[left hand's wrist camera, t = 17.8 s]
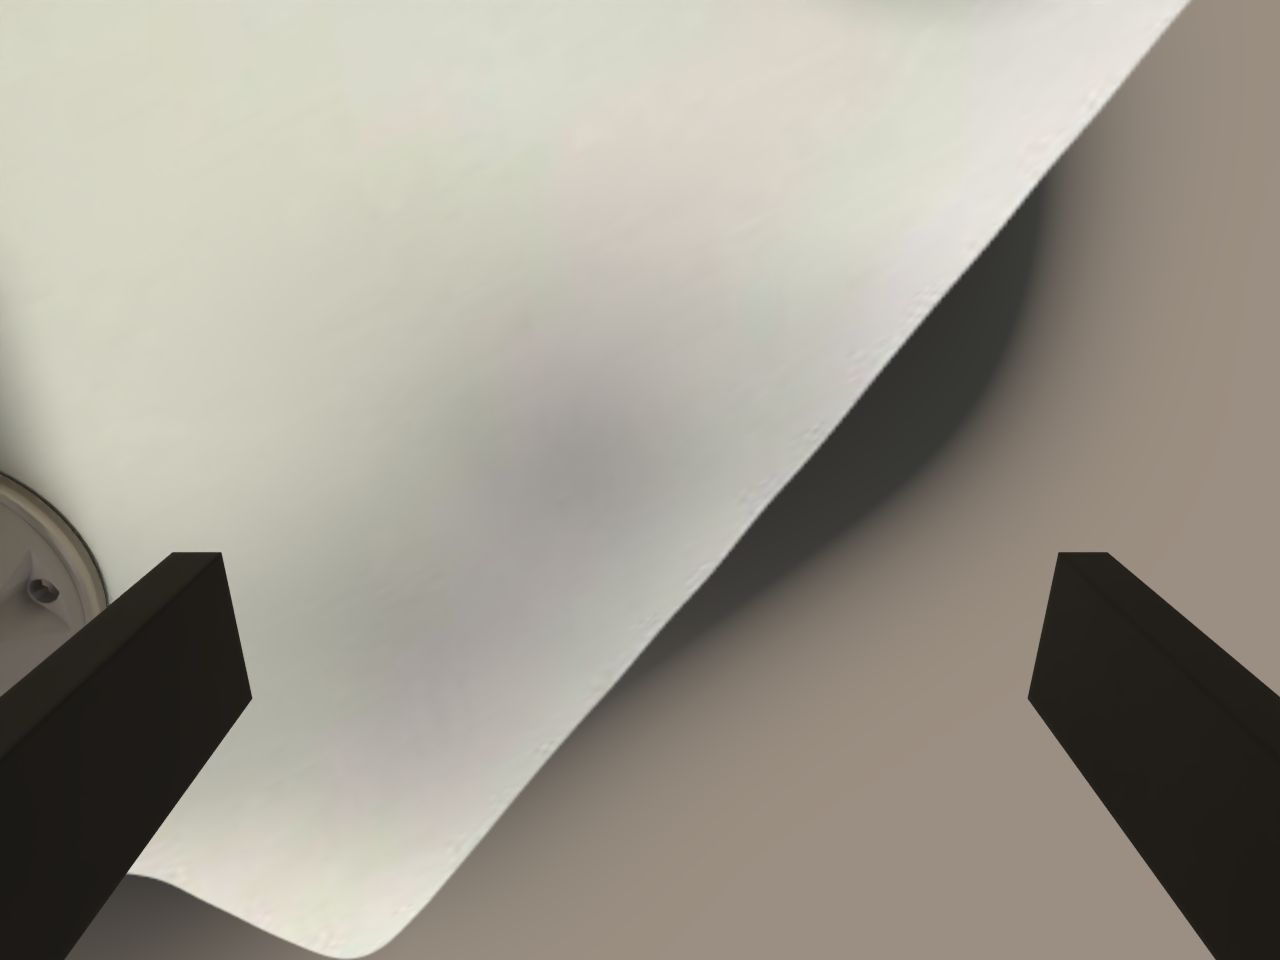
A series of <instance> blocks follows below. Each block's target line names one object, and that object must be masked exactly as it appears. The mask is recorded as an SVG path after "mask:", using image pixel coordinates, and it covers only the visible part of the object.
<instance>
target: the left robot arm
mask: <svg viewBox="0 0 1280 960" xmlns="http://www.w3.org/2000/svg"><path fill="white" fill-rule="evenodd" d="M251 700H252V695H251V690H250V685H249V680H248V676H247V671H246V666H245V661H244V657H243V652H242V647H241V643H240V638H239V633H238V628H237V624H236V619H235V614H234V609H233V605H232V600H231V595H230V591H229V586H228V581H227V576H226V572H225V567H224V562H223V557H222V553H221V552H172V553H171V554H170V555H169V556H168V557H166V558H165V559H164V560H163V561H162V562H160V563H159V564H158V565H157V566H156V567H155V568H153V569H152V570H151V571H150V572H149V573H147V574H146V575H145V576H144V577H143V578H141V579H140V580H139V581H138V582H137V583H135V584H134V585H133V586H132V587H131V588H129V589H128V590H127V591H126V592H125V593H124V594H122V595H121V596H120V597H119V598H118V599H116V600H115V601H114V602H113V603H112V604H110V605H109V606H108V607H106V599H105V594H104V589H103V586H102V583H101V580H100V577H99V575H98V572H97V570H96V567H95V565H94V563H93V561H92V560H91V558H90V556H89V554H88V552H87V551H86V549H85V548H84V546H83V545H82V543H81V541H80V540H79V539H78V537H77V536H76V535H75V534H74V532H73V531H72V530H71V528H70V527H69V526H68V525H67V524H66V523H65V522H64V521H63V520H62V519H61V518H60V516H58V515H57V514H56V513H55V512H54V511H53V510H52V509H51V508H50V507H49V506H48V505H46V504H45V503H44V502H43V501H41V500H40V499H39V498H38V497H36V496H35V495H34V494H32V493H31V492H29V491H28V490H27V489H25V488H24V487H22V486H21V485H19V484H17V483H15V482H14V481H12V480H10V479H9V478H7V477H5V476H3V475H1V474H0V960H64V959H65V958H66V957H67V955H68V954H69V952H70V951H71V950H72V948H73V947H74V945H75V944H76V943H77V941H78V940H79V938H80V937H81V936H82V934H83V933H84V932H85V930H86V929H87V927H88V926H89V925H90V923H91V922H92V920H93V919H94V918H95V916H96V915H97V913H98V912H99V911H100V909H101V908H102V907H103V905H104V904H105V902H106V901H107V900H108V898H109V897H110V895H111V894H112V893H113V891H114V890H115V888H116V887H117V886H118V884H119V883H120V882H121V880H122V879H123V877H124V876H125V875H126V873H127V872H128V870H129V869H130V868H131V866H132V865H133V864H134V862H135V861H136V859H137V858H138V857H139V855H140V854H141V852H142V851H143V850H144V848H145V847H146V845H147V844H148V843H149V841H150V840H151V839H152V837H153V836H154V834H155V833H156V832H157V830H158V829H159V827H160V826H161V825H162V823H163V822H164V820H165V819H166V818H167V816H168V815H169V814H170V812H171V811H172V809H173V808H174V807H175V805H176V804H177V802H178V801H179V800H180V798H181V797H182V795H183V794H184V793H185V791H186V790H187V789H188V787H189V786H190V784H191V783H192V782H193V780H194V779H195V777H196V776H197V775H198V773H199V772H200V770H201V769H202V768H203V766H204V765H205V764H206V762H207V761H208V759H209V758H210V757H211V755H212V754H213V752H214V751H215V750H216V748H217V747H218V745H219V744H220V743H221V741H222V740H223V739H224V737H225V736H226V734H227V733H228V732H229V730H230V729H231V727H232V726H233V725H234V723H235V722H236V720H237V719H238V718H239V716H240V715H241V714H242V712H243V711H244V709H245V708H246V707H247V705H248V704H249V702H250V701H251ZM1028 700H1029V701H1030V702H1031V704H1032V705H1033V707H1034V708H1035V709H1036V711H1037V712H1038V714H1039V715H1040V716H1041V718H1042V719H1043V720H1044V722H1045V723H1046V725H1047V726H1048V727H1049V729H1050V730H1051V732H1052V733H1053V734H1054V736H1055V737H1056V739H1057V740H1058V741H1059V743H1060V744H1061V745H1062V747H1063V748H1064V750H1065V751H1066V752H1067V754H1068V755H1069V757H1070V758H1071V759H1072V761H1073V762H1074V764H1075V765H1076V766H1077V768H1078V769H1079V770H1080V772H1081V773H1082V775H1083V776H1084V777H1085V779H1086V780H1087V782H1088V783H1089V784H1090V786H1091V787H1092V789H1093V790H1094V791H1095V793H1096V794H1097V795H1098V797H1099V798H1100V800H1101V801H1102V802H1103V804H1104V805H1105V807H1106V808H1107V809H1108V811H1109V812H1110V814H1111V815H1112V816H1113V818H1114V819H1115V820H1116V822H1117V823H1118V825H1119V826H1120V827H1121V829H1122V830H1123V832H1124V833H1125V834H1126V836H1127V837H1128V839H1129V840H1130V841H1131V843H1132V844H1133V845H1134V847H1135V848H1136V850H1137V851H1138V852H1139V854H1140V855H1141V857H1142V858H1143V859H1144V861H1145V862H1146V864H1147V865H1148V866H1149V868H1150V869H1151V870H1152V872H1153V873H1154V875H1155V876H1156V877H1157V879H1158V880H1159V882H1160V883H1161V884H1162V886H1163V887H1164V888H1165V890H1166V891H1167V893H1168V894H1169V895H1170V897H1171V898H1172V900H1173V901H1174V902H1175V904H1176V905H1177V907H1178V908H1179V909H1180V911H1181V912H1182V913H1183V915H1184V916H1185V918H1186V919H1187V920H1188V922H1189V923H1190V925H1191V926H1192V927H1193V929H1194V930H1195V932H1196V933H1197V934H1198V936H1199V937H1200V938H1201V940H1202V941H1203V943H1204V944H1205V945H1206V947H1207V948H1208V950H1209V951H1210V952H1211V954H1212V955H1213V956H1214V958H1215V959H1216V960H1280V697H1279V696H1278V695H1277V694H1276V693H1274V692H1273V691H1272V690H1271V689H1270V688H1269V687H1267V686H1266V685H1265V684H1264V683H1263V682H1261V681H1260V680H1259V679H1258V678H1257V677H1255V676H1254V675H1253V674H1252V673H1251V672H1249V671H1248V670H1247V669H1246V668H1245V667H1243V666H1242V665H1241V664H1240V663H1239V662H1238V661H1236V660H1235V659H1234V658H1233V657H1232V656H1230V655H1229V654H1228V653H1227V652H1226V651H1224V650H1223V649H1222V648H1221V647H1220V646H1218V645H1217V644H1216V643H1215V642H1214V641H1212V640H1211V639H1210V638H1209V637H1208V636H1207V635H1205V634H1204V633H1203V632H1202V631H1201V630H1199V629H1198V628H1197V627H1196V626H1195V625H1193V624H1192V623H1191V622H1190V621H1189V620H1187V619H1186V618H1185V617H1184V616H1183V615H1181V614H1180V613H1179V612H1178V611H1177V610H1176V609H1174V608H1173V607H1172V606H1171V605H1170V604H1168V603H1167V602H1166V601H1165V600H1164V599H1162V598H1161V597H1160V596H1159V595H1158V594H1156V593H1155V592H1154V591H1153V590H1152V589H1151V588H1149V587H1148V586H1147V585H1146V584H1145V583H1143V582H1142V581H1141V580H1140V579H1139V578H1137V577H1136V576H1135V575H1134V574H1133V573H1131V572H1130V571H1129V570H1128V569H1127V568H1125V567H1124V566H1123V565H1122V564H1121V563H1120V562H1118V561H1117V560H1116V559H1115V558H1114V557H1112V556H1111V555H1110V554H1109V553H1107V552H1059V553H1058V558H1057V562H1056V567H1055V572H1054V576H1053V581H1052V586H1051V591H1050V595H1049V600H1048V605H1047V609H1046V614H1045V619H1044V624H1043V628H1042V633H1041V638H1040V643H1039V647H1038V652H1037V657H1036V661H1035V666H1034V671H1033V676H1032V680H1031V685H1030V690H1029V695H1028Z"/></svg>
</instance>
